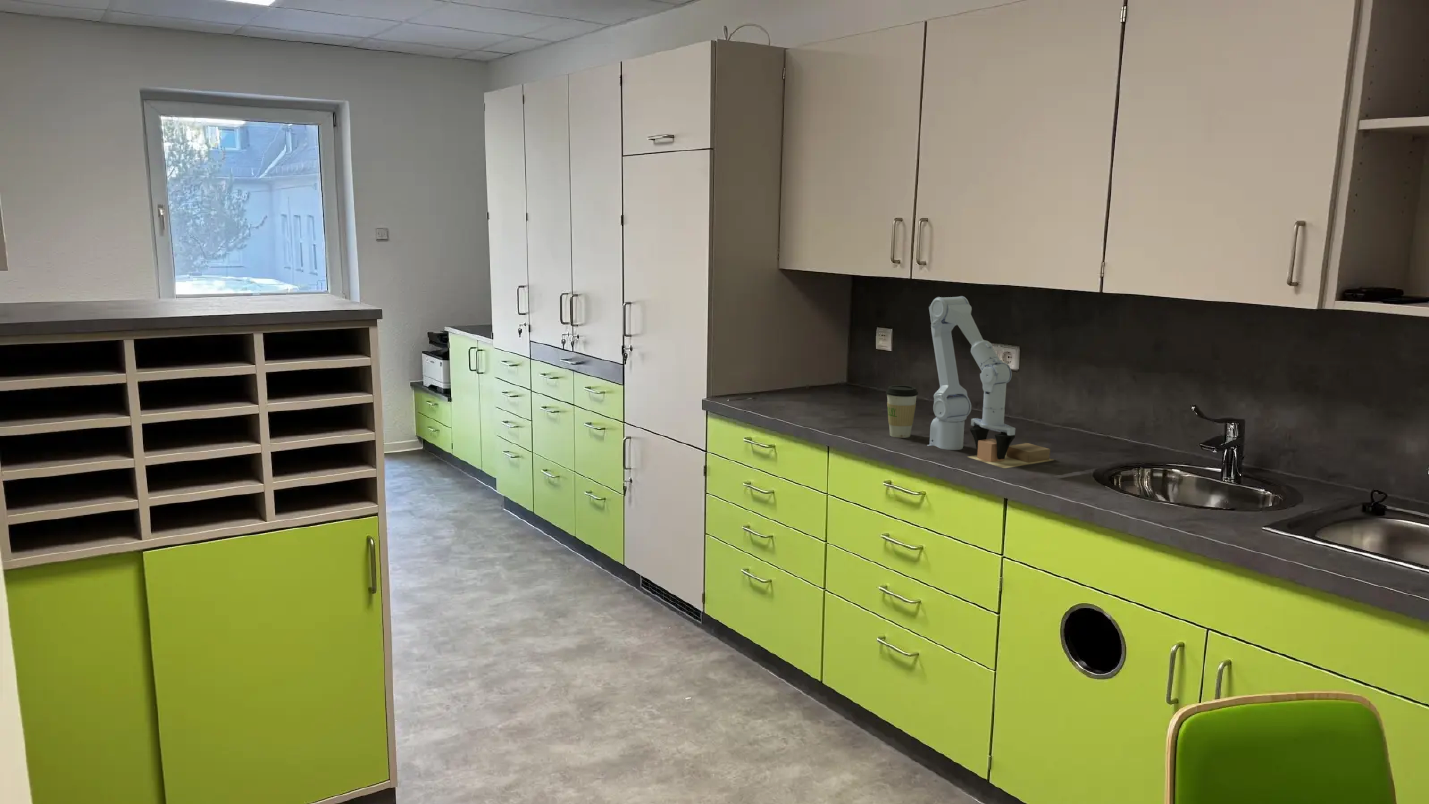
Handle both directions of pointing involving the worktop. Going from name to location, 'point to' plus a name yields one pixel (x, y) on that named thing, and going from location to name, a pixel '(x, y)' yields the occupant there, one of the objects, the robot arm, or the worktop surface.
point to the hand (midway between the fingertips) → (990, 455)
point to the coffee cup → (901, 409)
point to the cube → (987, 450)
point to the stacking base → (1006, 462)
